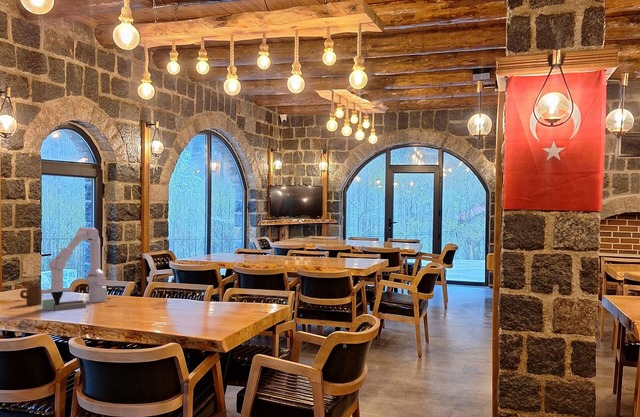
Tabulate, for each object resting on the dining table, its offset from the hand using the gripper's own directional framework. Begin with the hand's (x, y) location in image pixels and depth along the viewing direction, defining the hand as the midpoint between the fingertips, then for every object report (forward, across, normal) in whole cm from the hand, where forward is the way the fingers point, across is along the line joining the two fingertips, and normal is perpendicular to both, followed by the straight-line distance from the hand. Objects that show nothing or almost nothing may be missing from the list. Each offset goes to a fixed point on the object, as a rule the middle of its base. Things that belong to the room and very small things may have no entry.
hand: (56, 306), depth 291 cm
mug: (+2, +11, -18) cm, 21 cm away
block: (+1, +4, 0) cm, 4 cm away
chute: (+1, -5, 0) cm, 5 cm away
